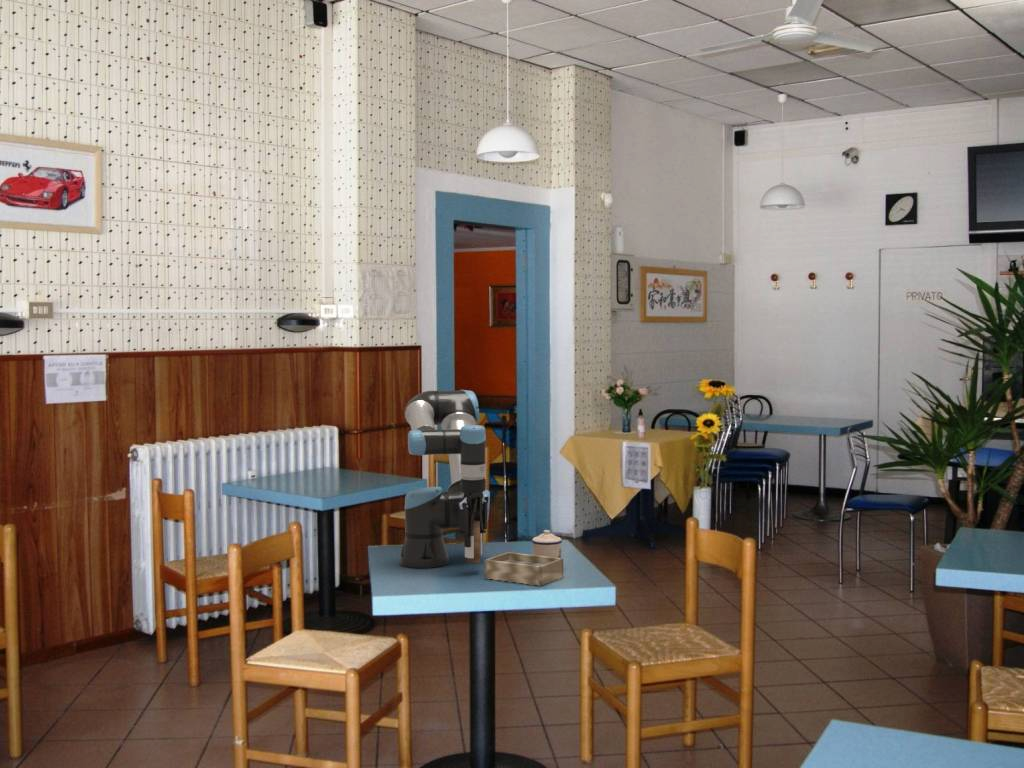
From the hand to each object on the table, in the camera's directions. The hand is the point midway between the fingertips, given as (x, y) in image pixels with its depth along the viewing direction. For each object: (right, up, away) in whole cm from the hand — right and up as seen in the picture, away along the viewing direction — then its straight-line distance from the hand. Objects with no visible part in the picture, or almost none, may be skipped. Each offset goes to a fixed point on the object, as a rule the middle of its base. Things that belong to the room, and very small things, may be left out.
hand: (473, 556), depth 312 cm
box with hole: (+15, -5, -6) cm, 17 cm away
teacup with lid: (+22, -5, +8) cm, 24 cm away
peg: (0, -2, 0) cm, 2 cm away
